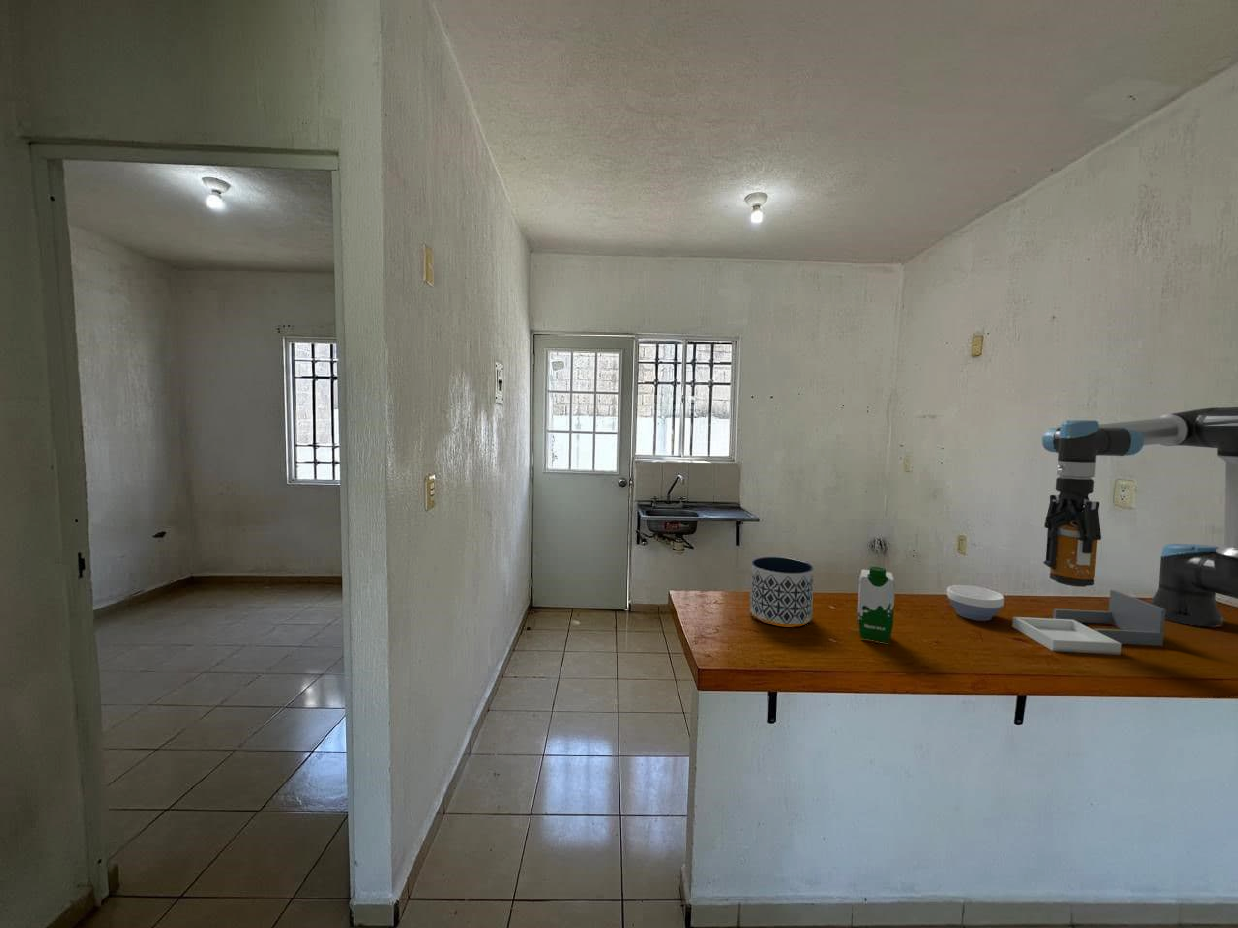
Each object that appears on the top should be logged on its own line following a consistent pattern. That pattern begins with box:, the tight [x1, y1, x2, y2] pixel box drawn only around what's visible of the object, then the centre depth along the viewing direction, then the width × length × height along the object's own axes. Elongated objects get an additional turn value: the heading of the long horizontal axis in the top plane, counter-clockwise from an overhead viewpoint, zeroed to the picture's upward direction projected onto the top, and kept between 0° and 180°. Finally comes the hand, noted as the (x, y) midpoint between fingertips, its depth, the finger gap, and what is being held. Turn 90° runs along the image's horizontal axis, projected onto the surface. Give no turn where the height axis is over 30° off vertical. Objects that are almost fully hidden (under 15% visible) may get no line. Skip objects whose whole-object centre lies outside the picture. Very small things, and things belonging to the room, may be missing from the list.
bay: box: [1052, 589, 1166, 646], centre depth 142 cm, size 16×16×10 cm
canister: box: [1043, 510, 1098, 588], centre depth 135 cm, size 9×11×20 cm
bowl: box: [946, 584, 1005, 622], centre depth 154 cm, size 14×14×8 cm
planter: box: [749, 556, 815, 625], centre depth 152 cm, size 18×18×16 cm
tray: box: [1012, 616, 1123, 656], centre depth 137 cm, size 16×16×3 cm
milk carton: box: [857, 566, 896, 644], centre depth 137 cm, size 9×9×20 cm
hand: (1068, 559), depth 135 cm, fingers closed on canister, 9 cm apart
